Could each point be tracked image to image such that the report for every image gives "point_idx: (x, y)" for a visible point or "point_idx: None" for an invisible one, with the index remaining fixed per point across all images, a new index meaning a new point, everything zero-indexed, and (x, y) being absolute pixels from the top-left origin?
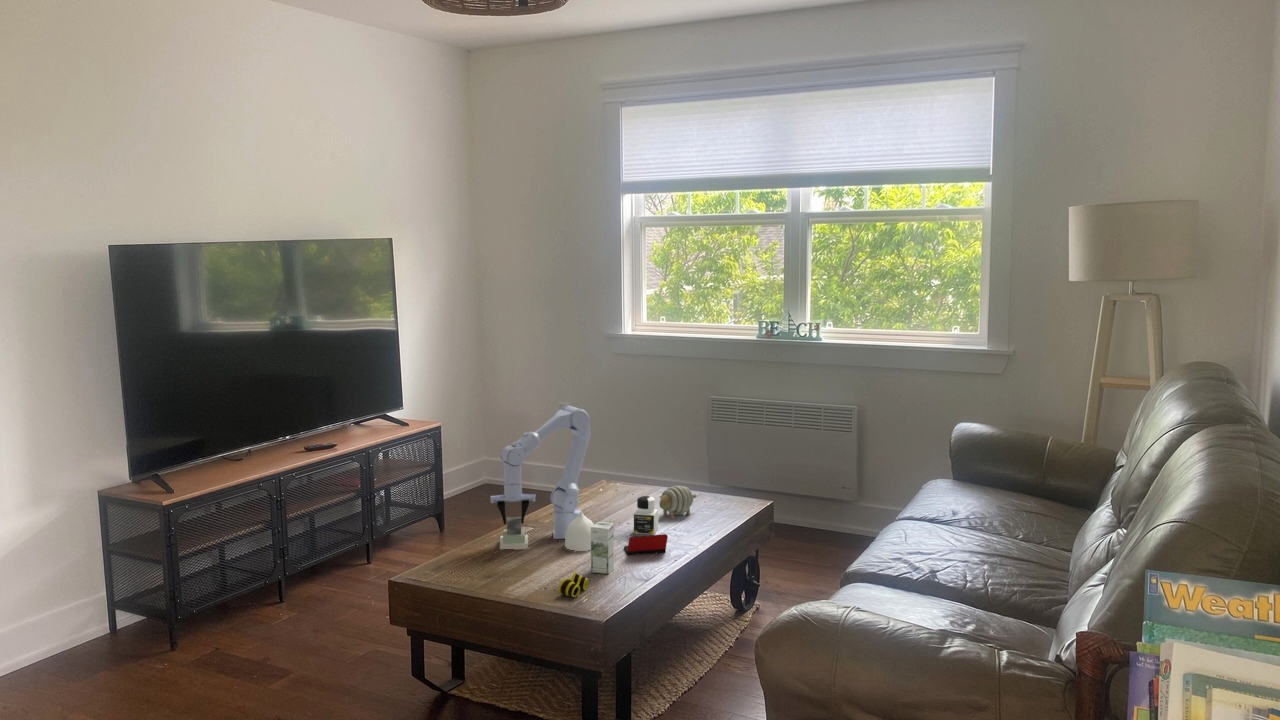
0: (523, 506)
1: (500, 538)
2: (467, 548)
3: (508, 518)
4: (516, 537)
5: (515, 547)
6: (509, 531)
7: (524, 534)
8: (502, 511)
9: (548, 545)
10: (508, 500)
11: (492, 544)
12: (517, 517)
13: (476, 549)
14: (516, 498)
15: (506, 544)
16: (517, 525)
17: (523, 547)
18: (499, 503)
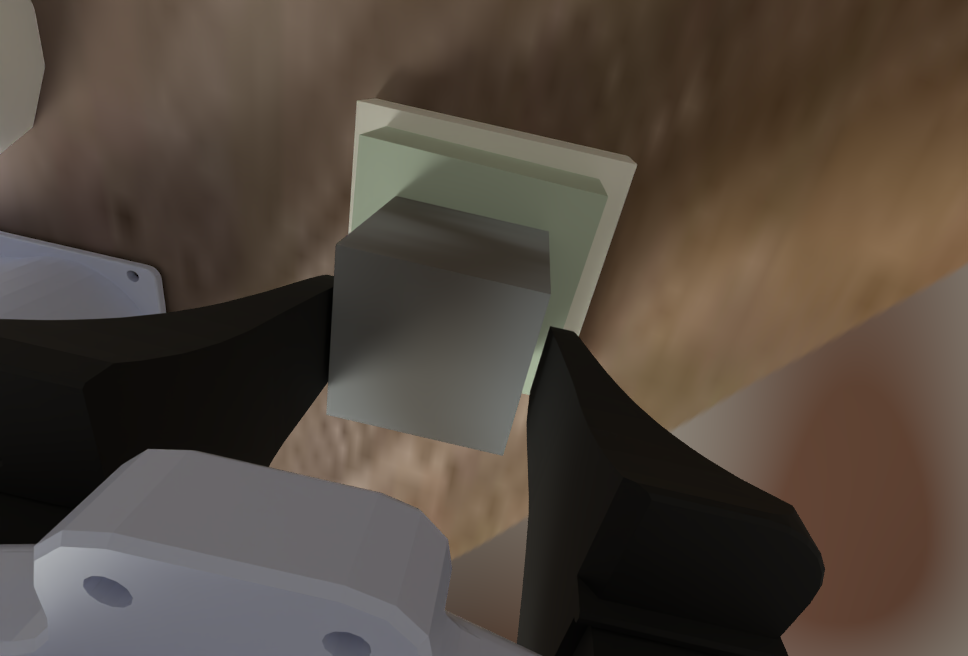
0: (98, 349)
1: (579, 331)
2: (872, 300)
3: (498, 408)
4: (457, 155)
5: (485, 124)
6: (520, 236)
7: (358, 176)
8: (636, 428)
9: (193, 132)
10: (490, 632)
11: (640, 322)
12: (373, 408)
13: (815, 247)
14: (54, 623)
15: (570, 147)
16: (407, 235)
17: (411, 109)
18: (728, 648)
